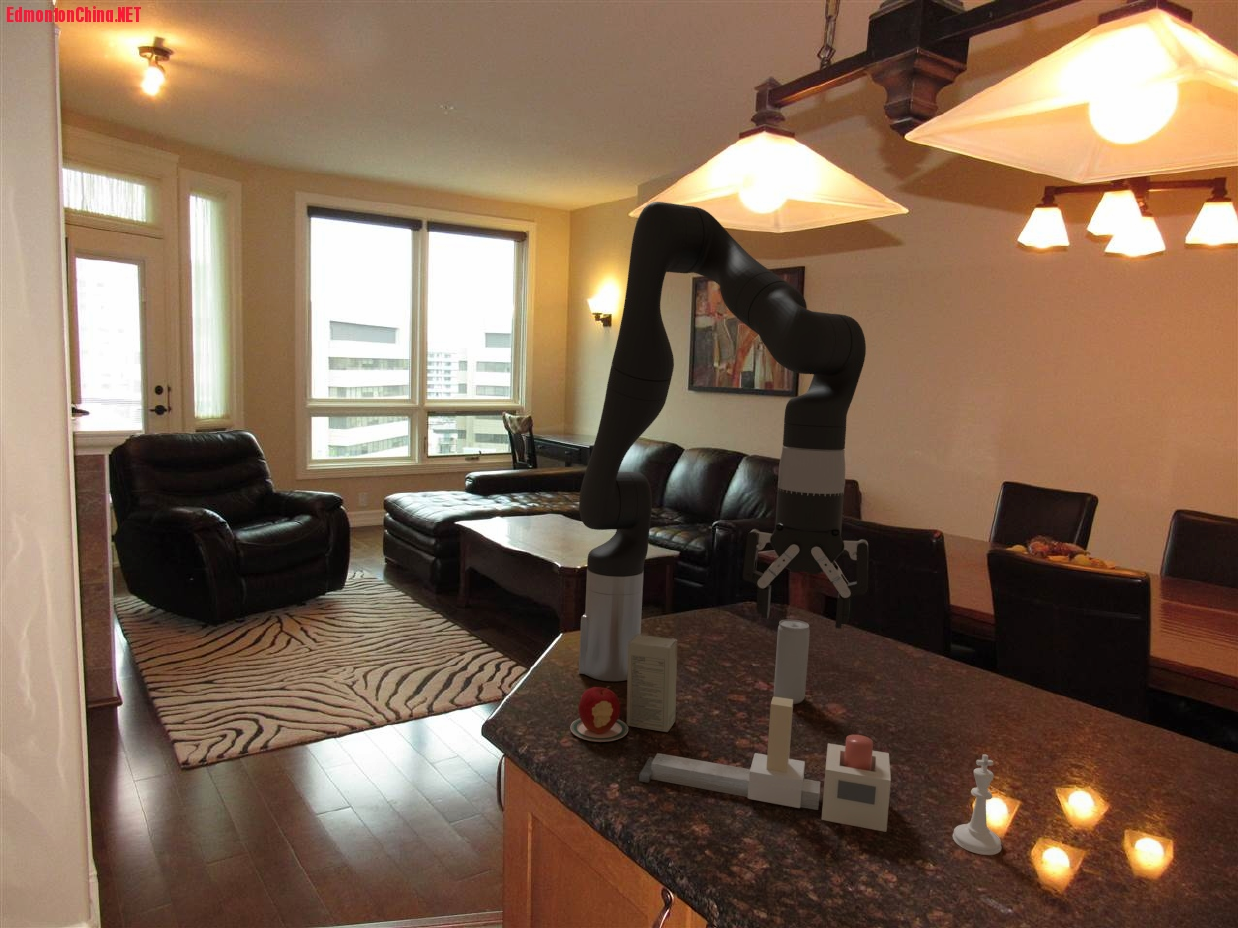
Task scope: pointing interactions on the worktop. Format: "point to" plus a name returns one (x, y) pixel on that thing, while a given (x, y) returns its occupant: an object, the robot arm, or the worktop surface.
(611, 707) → the apple
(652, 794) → the worktop surface
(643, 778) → the rail
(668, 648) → the skincare box
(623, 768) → the worktop surface
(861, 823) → the cream square box
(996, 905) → the worktop surface
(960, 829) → the chess piece
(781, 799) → the carriage
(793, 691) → the beverage can
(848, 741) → the button
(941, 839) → the worktop surface
